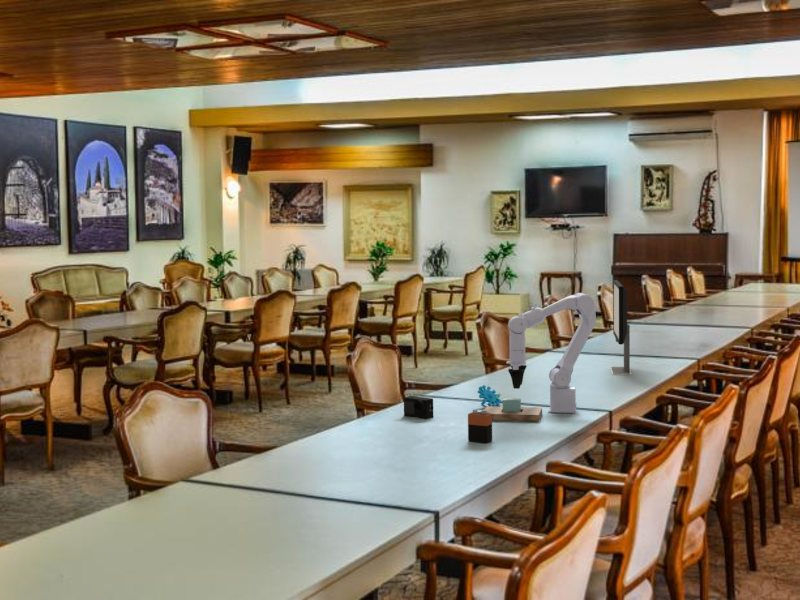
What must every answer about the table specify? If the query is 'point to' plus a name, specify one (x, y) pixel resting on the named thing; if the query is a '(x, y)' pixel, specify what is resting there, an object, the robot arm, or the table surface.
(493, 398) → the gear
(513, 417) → the keyed socket
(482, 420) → the battery
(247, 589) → the table surface
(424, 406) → the digital camera
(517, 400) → the teal striped block
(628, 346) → the computer monitor
